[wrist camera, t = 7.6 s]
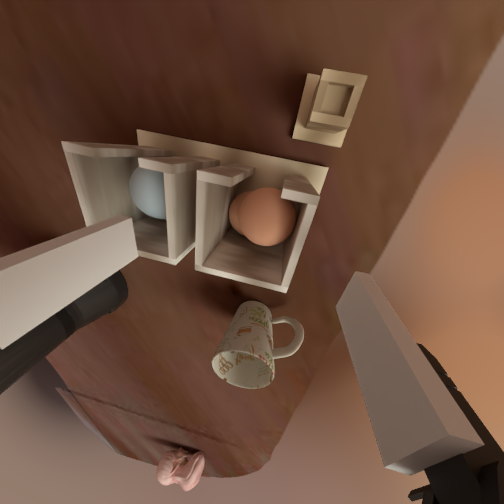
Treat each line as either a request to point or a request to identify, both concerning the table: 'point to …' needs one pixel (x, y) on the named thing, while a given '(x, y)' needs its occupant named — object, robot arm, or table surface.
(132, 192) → the grey ball upper
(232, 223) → the terracotta ball in tube
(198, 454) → the figurine
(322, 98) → the stand
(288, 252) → the rack
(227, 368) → the mug
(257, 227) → the terracotta ball
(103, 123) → the table surface
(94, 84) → the table surface
